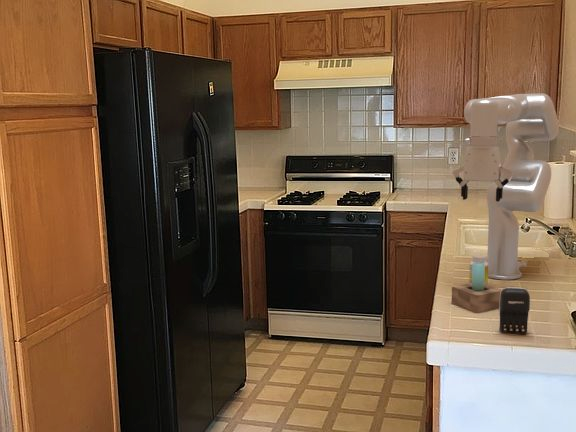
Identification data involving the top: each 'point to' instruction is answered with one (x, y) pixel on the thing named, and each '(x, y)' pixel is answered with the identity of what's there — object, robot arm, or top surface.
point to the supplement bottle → (482, 260)
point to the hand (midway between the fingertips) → (481, 200)
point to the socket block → (476, 298)
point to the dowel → (478, 276)
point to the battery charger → (514, 310)
